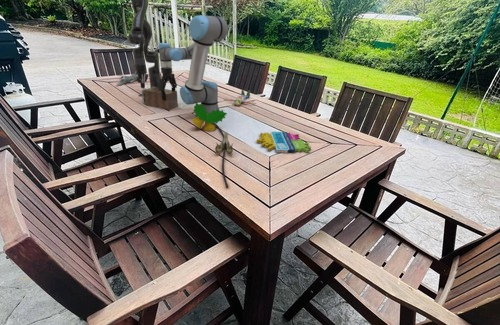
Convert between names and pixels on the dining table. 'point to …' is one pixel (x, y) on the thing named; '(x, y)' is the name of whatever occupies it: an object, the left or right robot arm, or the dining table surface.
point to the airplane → (126, 79)
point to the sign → (283, 142)
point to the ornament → (207, 117)
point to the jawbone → (224, 145)
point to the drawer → (143, 96)
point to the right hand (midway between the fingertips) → (169, 98)
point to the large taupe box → (155, 98)
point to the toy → (241, 99)
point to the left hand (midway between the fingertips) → (143, 88)
